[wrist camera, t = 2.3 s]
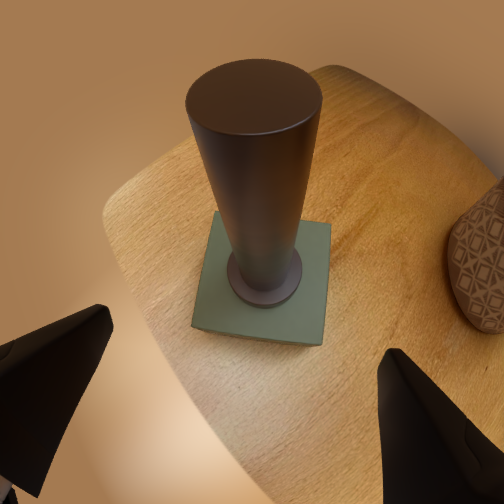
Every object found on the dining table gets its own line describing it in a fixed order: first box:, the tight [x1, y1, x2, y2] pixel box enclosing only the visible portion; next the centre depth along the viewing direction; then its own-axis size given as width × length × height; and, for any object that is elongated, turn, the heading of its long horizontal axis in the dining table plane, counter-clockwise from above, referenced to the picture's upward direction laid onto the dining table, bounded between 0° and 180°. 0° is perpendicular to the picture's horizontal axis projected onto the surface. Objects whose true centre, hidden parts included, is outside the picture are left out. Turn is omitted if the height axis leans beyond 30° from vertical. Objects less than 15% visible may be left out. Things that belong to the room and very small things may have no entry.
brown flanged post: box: [185, 59, 323, 309], centre depth 11 cm, size 4×4×13 cm
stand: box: [191, 211, 331, 347], centre depth 19 cm, size 8×8×4 cm
